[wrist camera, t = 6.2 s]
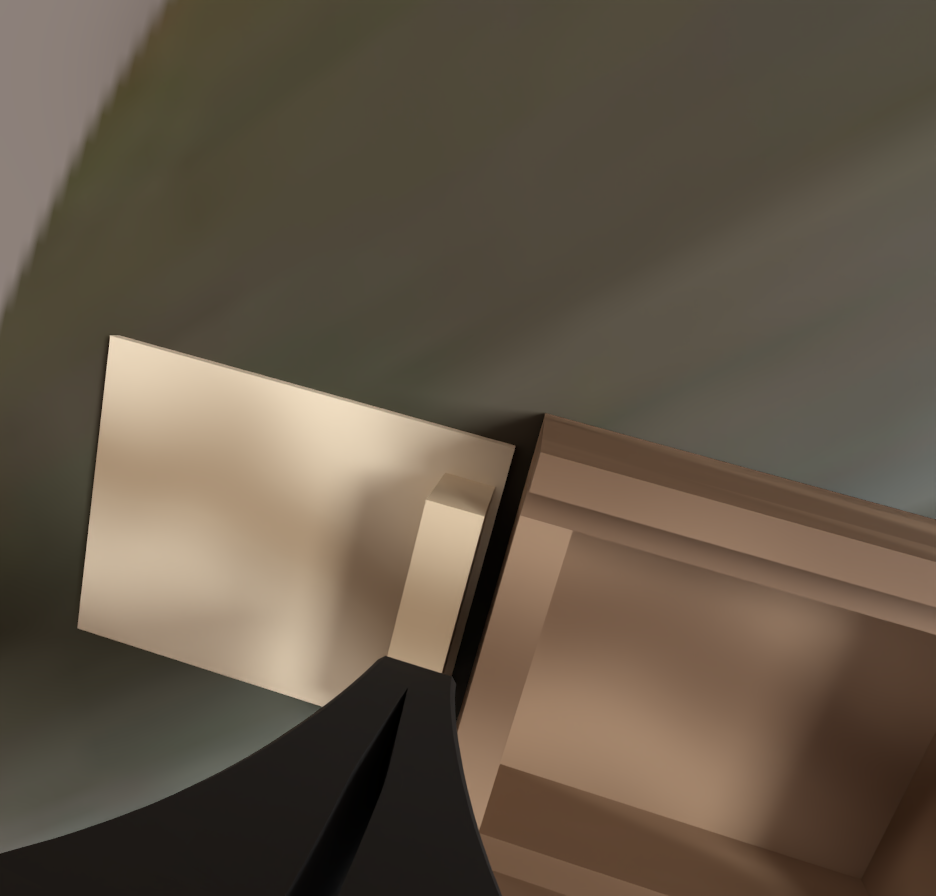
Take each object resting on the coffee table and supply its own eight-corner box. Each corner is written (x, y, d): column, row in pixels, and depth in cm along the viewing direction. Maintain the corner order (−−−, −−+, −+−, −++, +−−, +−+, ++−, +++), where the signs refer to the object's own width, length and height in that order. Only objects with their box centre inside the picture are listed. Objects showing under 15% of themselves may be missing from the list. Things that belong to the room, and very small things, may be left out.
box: (862, 910, 16) (966, 1114, 12) (441, 774, 16) (405, 920, 13) (1048, 550, 13) (1258, 651, 9) (545, 413, 14) (541, 452, 10)
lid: (438, 722, 17) (414, 807, 14) (98, 614, 18) (7, 673, 15) (517, 441, 15) (507, 471, 12) (132, 334, 16) (36, 339, 13)
